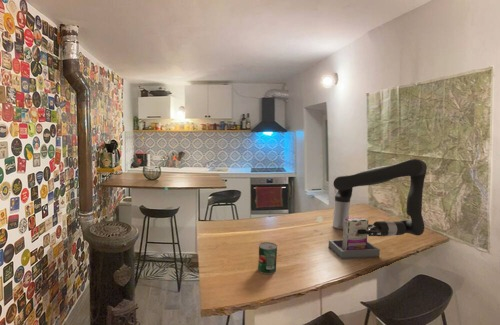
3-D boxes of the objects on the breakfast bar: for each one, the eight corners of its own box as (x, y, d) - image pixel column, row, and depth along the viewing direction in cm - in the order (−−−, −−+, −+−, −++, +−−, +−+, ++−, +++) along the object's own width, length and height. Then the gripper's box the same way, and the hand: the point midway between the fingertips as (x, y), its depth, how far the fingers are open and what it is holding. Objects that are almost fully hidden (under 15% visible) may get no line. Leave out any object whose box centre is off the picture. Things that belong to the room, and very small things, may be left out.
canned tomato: (254, 269, 130) (255, 245, 129) (266, 263, 135) (267, 240, 134) (267, 276, 124) (268, 250, 123) (279, 270, 130) (281, 246, 128)
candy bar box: (360, 247, 155) (363, 217, 153) (366, 251, 150) (369, 220, 148) (341, 248, 152) (343, 217, 150) (346, 252, 147) (349, 220, 146)
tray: (328, 247, 156) (329, 240, 156) (363, 246, 160) (364, 238, 159) (341, 259, 143) (341, 251, 142) (379, 257, 146) (379, 249, 146)
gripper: (377, 217, 159) (348, 218, 156) (394, 226, 145) (363, 227, 142) (376, 230, 160) (347, 231, 157) (393, 241, 146) (361, 242, 143)
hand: (354, 229), depth 150 cm, fingers open, 5 cm apart
